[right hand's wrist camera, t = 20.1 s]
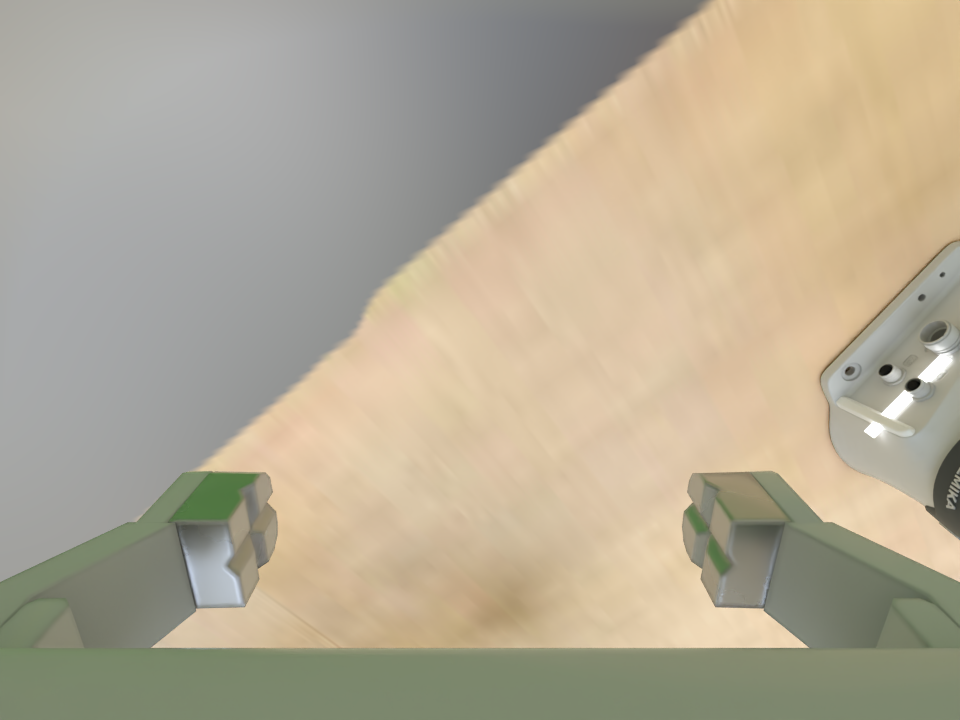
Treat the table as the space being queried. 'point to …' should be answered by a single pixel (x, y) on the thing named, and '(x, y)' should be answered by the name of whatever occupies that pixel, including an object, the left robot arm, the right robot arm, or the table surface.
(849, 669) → the right robot arm
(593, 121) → the table surface
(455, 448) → the table surface
